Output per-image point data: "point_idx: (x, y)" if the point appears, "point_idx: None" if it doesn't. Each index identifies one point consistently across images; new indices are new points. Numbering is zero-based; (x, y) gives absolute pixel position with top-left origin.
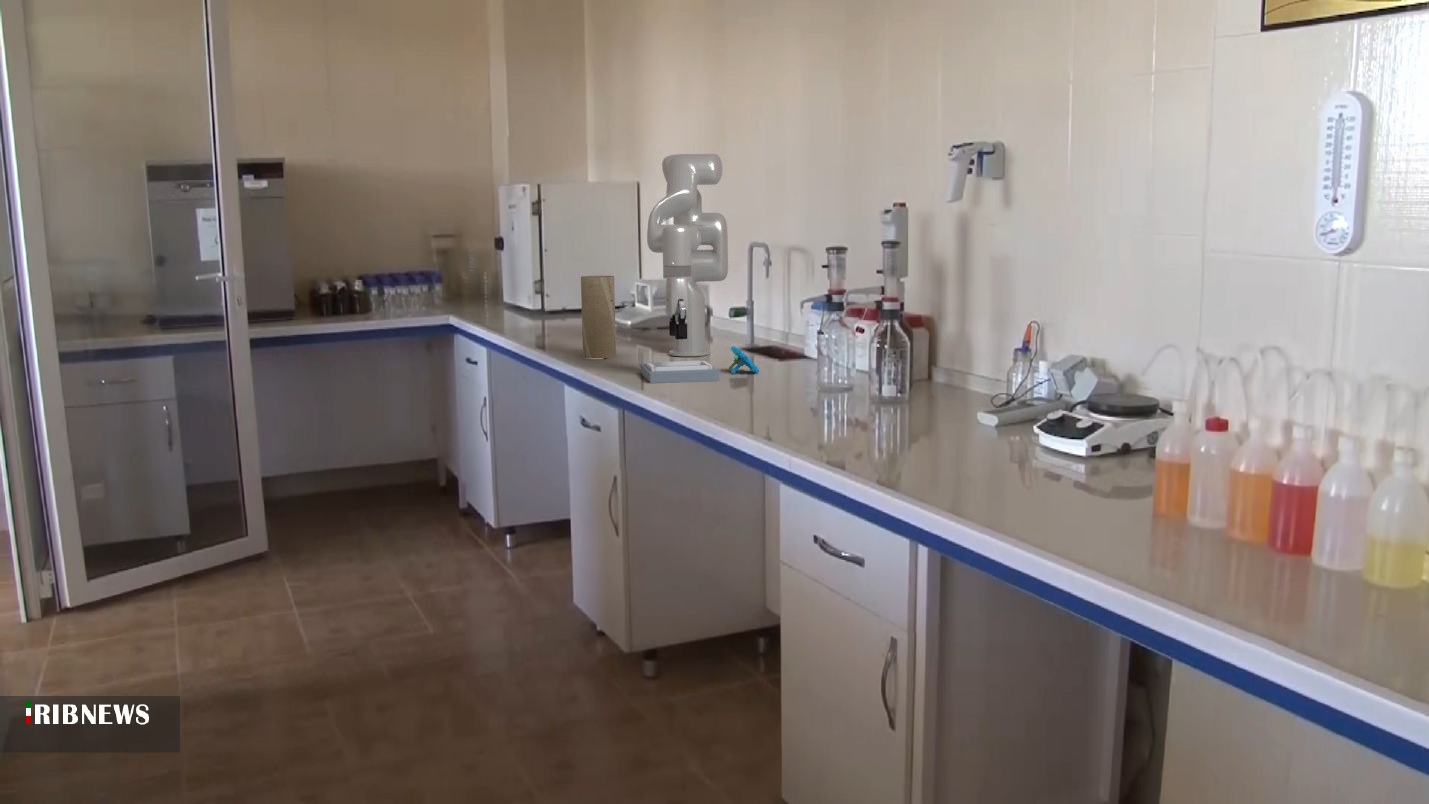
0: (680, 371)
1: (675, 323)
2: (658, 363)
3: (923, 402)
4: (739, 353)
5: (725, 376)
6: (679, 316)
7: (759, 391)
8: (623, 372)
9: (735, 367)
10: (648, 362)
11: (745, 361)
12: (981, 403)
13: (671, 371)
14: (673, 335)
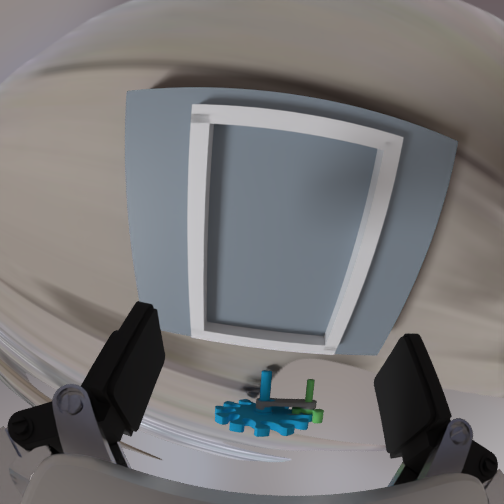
0: (155, 220)
1: (405, 427)
2: (373, 187)
3: (17, 377)
4: (236, 420)
5: (238, 347)
6: (10, 422)
7: (28, 306)
8: (479, 98)
9: (263, 386)
10: (399, 146)
11: (251, 410)
12: (27, 395)
13: (162, 186)
14: (393, 349)
